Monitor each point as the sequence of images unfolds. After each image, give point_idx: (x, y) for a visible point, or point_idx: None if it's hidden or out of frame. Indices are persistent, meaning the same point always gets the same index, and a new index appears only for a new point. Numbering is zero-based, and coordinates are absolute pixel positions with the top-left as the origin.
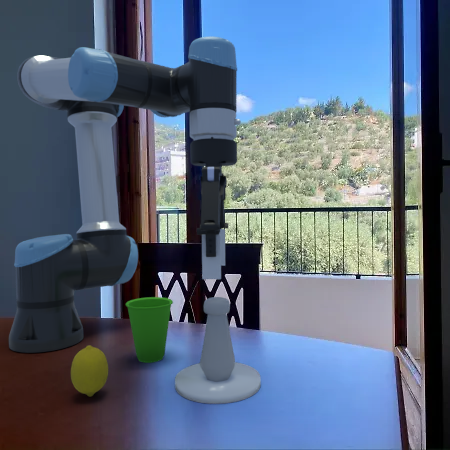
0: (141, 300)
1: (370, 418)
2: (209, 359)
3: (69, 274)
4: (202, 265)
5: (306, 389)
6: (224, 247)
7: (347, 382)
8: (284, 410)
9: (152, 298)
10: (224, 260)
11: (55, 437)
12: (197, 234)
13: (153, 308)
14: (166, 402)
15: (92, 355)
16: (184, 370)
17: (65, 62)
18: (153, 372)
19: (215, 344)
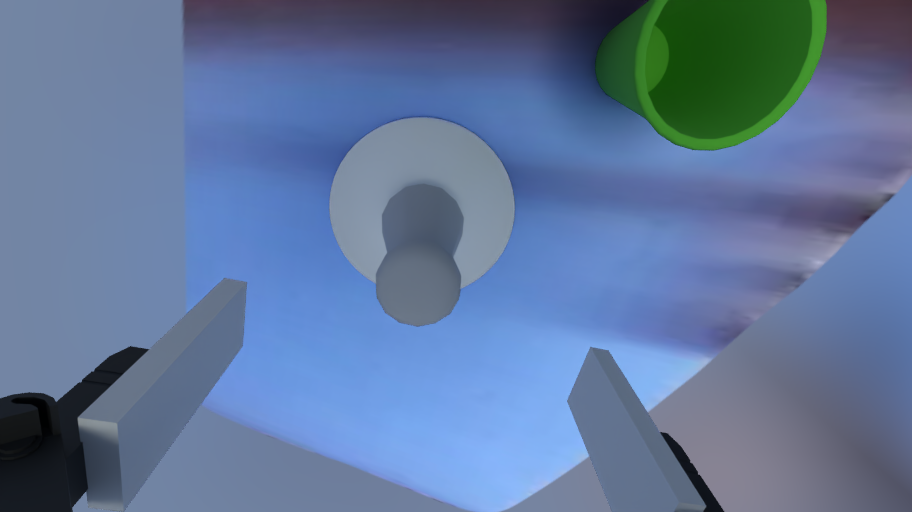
0: (810, 17)
1: (260, 401)
2: (390, 207)
3: None
4: (194, 308)
5: (369, 353)
6: (596, 466)
7: (385, 417)
8: (295, 299)
9: (804, 68)
10: (575, 415)
11: None
12: (26, 394)
13: (634, 68)
14: (354, 91)
15: None
16: (476, 145)
17: None
18: (526, 66)
19: (386, 234)
